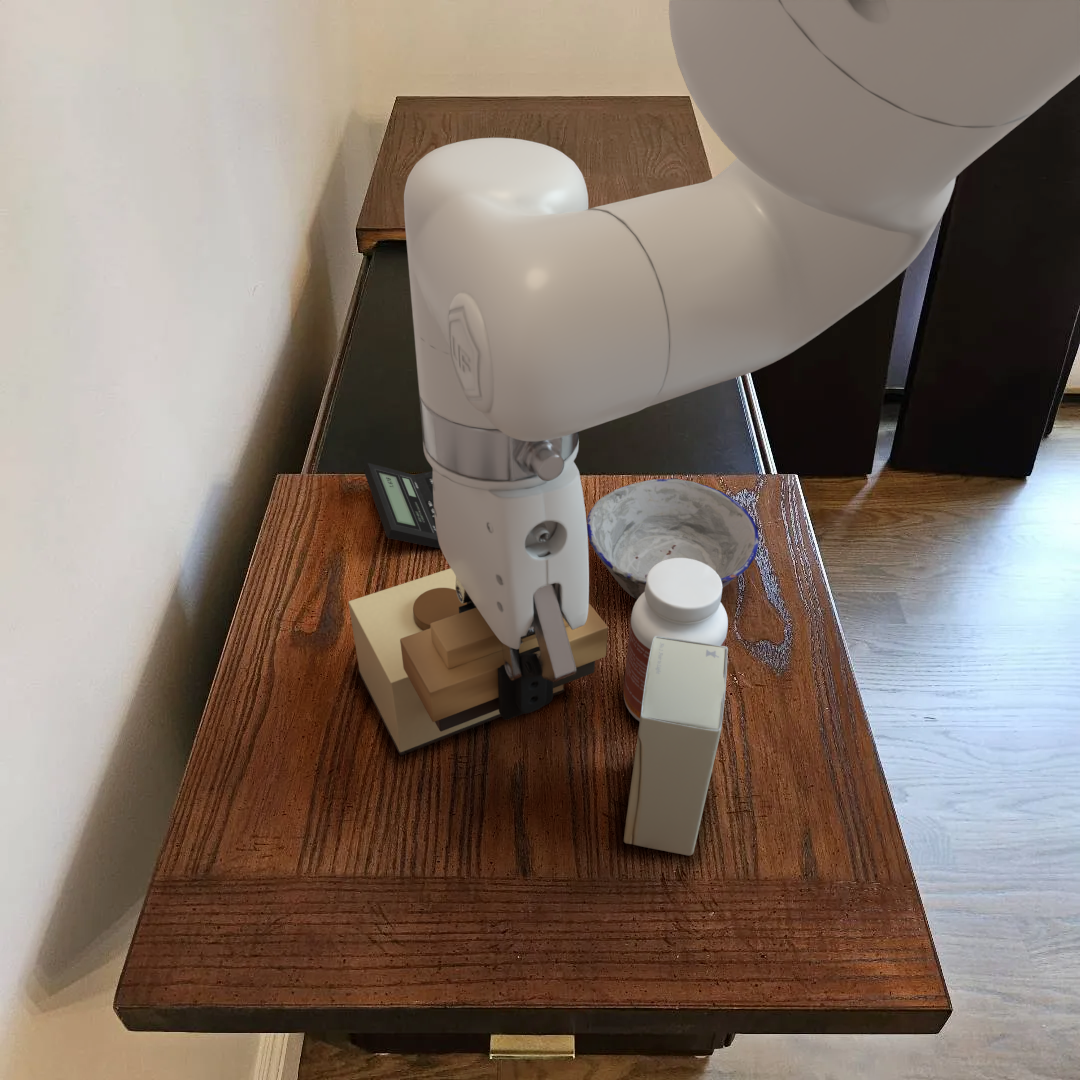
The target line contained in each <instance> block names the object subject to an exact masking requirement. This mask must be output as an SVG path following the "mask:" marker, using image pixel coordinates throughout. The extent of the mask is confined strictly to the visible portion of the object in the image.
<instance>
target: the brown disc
mask: <svg viewBox="0 0 1080 1080" xmlns="http://www.w3.org/2000/svg"><path fill="white" fill-rule="evenodd" d="M466 604H467V602H466V603H463V604H462V603H461V602H460V601H459V599H458V597H457V594H456V590H454V589H451V588H435V589H431V590H428V591H426V592H424V593H423V594H421V595H420V596H419V597H418V598H417V599H416V600H415V602H414V605H413V614H414V621H415V623H416V625H417V626H418V627H419V628H420V629H421V630H423V631H424V630H427V629H430V628H431V626H430V624H431V623H433V622H436V621H439V620H442V619H445V618H447V617H450V616H453V615H456V614H459V607H460V606H463V605H466Z"/></svg>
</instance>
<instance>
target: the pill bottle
mask: <svg viewBox="0 0 1080 1080" xmlns="http://www.w3.org/2000/svg"><path fill="white" fill-rule="evenodd" d="M722 594H723V588H722V582H721V579H720V577H719V575H718V574H717V573H716V572H715V571H714V570H713V569H712V568H711V567H709V566H708V565H706V564H704V563H702V562H699V561H697V560H693V559H688V558H672V559H667V560H664V561H661V562H659V563H658V564H656V565H655V566H654V567H653V568H652V569H651V570H650V571H649V573H648V576H647V580H646V586H645V592H644V593H643V594H641V596H640V597H639V598H638V599H637V600H636V601H635V602H634V605H633V607H632V610H631V616H630V622H629V623H630V624H629V633H628V641H627V642H628V643H627V653H626V663H625V673H624V682H623V700H624V703H625V706H626V708H627V710H628V712H629V713H630V715H631V716H632V717H633V718H634V719H635V720H636V721H637V722H639V723H640V715H641V707H642V699H643V692H644V685H645V678H646V672H647V666H648V660H649V655H650V650H651V645H652V641H653V638H654V637H655V636H660V637H667V638H674V639H682V640H687V641H694V642H701V643H706V644H713V645H718V646H726V641H727V637H728V636H727V635H728V628H729V618H728V614H727V611H726V609H725V607H724V605H723V603H722V602H721V601H722V596H723V595H722Z"/></svg>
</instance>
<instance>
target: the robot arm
mask: <svg viewBox="0 0 1080 1080" xmlns="http://www.w3.org/2000/svg"><path fill="white" fill-rule="evenodd" d="M668 19H669V30H670V37H671V42H672V47H673V50H674V54H675V58H676V62H677V65H678V69H679V71H680V73H681V76H682V78H683V81H684V83H685V86H686V88H687V90H688V92H689V94H690V96H691V98H692V99H693V101H694V103H695V105H696V107H697V109H698V110H699V111H700V113H701V114H702V116H703V118H704V119H705V121H706V122H707V124H708V125H709V127H710V128H711V130H712V131H713V132H714V133H715V134H716V136H717V137H718V138H719V140H720V141H721V142H722V144H723V145H724V146H725V147H726V148H727V149H728V150H729V151H730V152H731V154H733V156H735V157H736V158H735V159H734V160H733V161H732V162H731V163H730V164H729V165H728V166H726V168H725V169H723V170H722V171H721V172H719V173H718V174H717V175H715V176H714V177H712V178H710V179H708V180H706V181H704V182H703V181H702V182H699V183H694V184H690V185H685V186H684V185H683V186H679V187H675V188H670V189H666V190H662V191H657V192H653V193H649V194H644V195H641V196H636V197H632V198H629V199H624V200H619V201H615V202H612V203H611V202H610V203H607V204H602V205H599V206H594V207H591V208H589V194H588V188H587V185H586V180H585V177H584V175H583V173H582V171H581V170H580V169H579V167H578V165H577V164H576V163H575V161H574V160H572V159H571V157H569V156H567V155H566V154H565V153H563V152H562V151H561V150H558V149H557V148H554V147H553V146H549V145H547V144H543V143H541V142H540V143H539V142H536V141H532V140H526V139H521V138H513V137H512V138H511V137H481V138H480V137H479V138H472V139H467V140H466V139H465V140H461V141H457V142H453V143H449V144H445V145H443V146H440V147H437V148H435V149H433V150H431V151H430V152H428V153H426V154H425V155H424V156H423V157H421V158H420V159H418V161H417V162H416V163H415V164H414V166H413V168H412V169H411V170H410V172H409V174H408V176H407V179H406V182H405V187H404V192H403V206H404V207H403V215H404V227H405V229H404V230H405V239H406V251H407V265H408V276H409V287H410V301H411V310H412V313H411V314H412V325H413V335H414V348H415V359H416V371H417V373H416V374H417V383H418V384H417V385H418V398H419V410H420V422H421V435H422V447H423V453H424V457H425V460H426V461H427V462H428V464H429V465H430V467H431V468H432V471H433V501H434V515H435V524H436V531H437V537H438V542H439V545H440V548H441V549H440V548H439V549H440V550H441V552H442V554H443V556H444V558H445V560H446V562H447V565H448V566H449V567H450V568H451V569H452V570H453V572H454V573H455V575H456V584H455V589H456V594H457V597H458V599H459V601H460V602H461V603H462V604H463V603H466V602H467V604H466V605H463V606H460V607H459V613H462V612H465V611H468V610H471V609H474V608H477V609H478V610H479V612H480V613H481V615H482V616H483V618H484V619H485V621H486V622H487V624H488V625H489V626H490V628H491V629H492V631H493V632H494V634H495V635H496V636H497V638H498V639H499V640H500V641H501V646H502V653H503V660H504V665H502V666H500V667H499V668H498V694H499V713H500V714H501V716H502V717H501V718H502V720H505V721H508V720H511V719H514V718H516V717H519V716H521V715H524V714H530V713H533V712H536V711H538V710H540V709H541V708H543V707H544V706H547V705H550V703H551V702H552V701H553V700H554V696H553V682H556V681H559V680H561V679H564V678H566V677H569V676H572V675H574V674H576V671H577V670H576V665H575V661H574V658H573V654H572V650H571V647H570V643H569V639H568V636H567V632H566V628H565V625H564V621H563V618H564V619H565V621H566V622H567V623H568V625H569V626H570V627H571V629H572V630H574V629H576V628H578V627H581V626H583V625H585V623H586V620H587V616H588V606H589V604H590V600H589V599H590V565H589V564H590V562H589V561H590V560H589V537H588V533H587V512H586V506H585V497H584V491H583V485H582V480H581V475H580V471H579V468H578V466H577V465H576V463H575V460H576V458H577V455H578V453H579V447H580V445H579V443H580V441H579V440H580V432H582V431H584V430H588V429H591V428H593V427H596V426H599V425H602V424H605V423H608V422H611V421H615V420H618V419H621V418H623V417H626V416H630V415H633V414H635V413H636V414H637V413H638V412H640V411H642V410H644V409H646V408H649V407H652V406H655V405H658V404H661V403H664V402H667V401H669V400H673V399H677V398H678V397H682V396H685V395H687V394H690V393H691V394H692V393H693V392H697V391H699V390H702V389H705V388H708V387H711V386H714V385H718V384H721V383H724V382H727V381H732V380H733V379H736V378H740V377H742V376H746V375H748V374H751V373H754V372H756V371H758V370H761V369H764V368H765V367H768V366H770V365H772V364H774V363H776V362H777V361H780V360H782V359H783V358H785V357H787V356H789V355H791V354H792V353H794V352H795V351H797V350H798V349H800V348H802V347H803V346H805V345H806V344H808V343H809V342H810V341H812V340H813V339H815V338H816V337H817V336H819V335H821V334H822V333H823V332H825V331H826V330H827V329H829V328H830V327H831V326H833V325H834V324H836V323H837V322H839V321H840V320H841V319H843V318H844V317H846V316H847V315H848V314H849V313H851V312H852V311H854V310H855V309H856V308H859V306H861V305H863V304H864V303H865V302H867V301H868V300H869V299H871V298H872V297H873V296H875V295H876V294H878V292H880V291H882V289H884V288H885V287H886V286H888V285H889V284H890V283H891V282H892V281H893V280H895V279H896V278H897V277H898V276H899V275H900V274H902V273H903V272H904V271H905V270H906V269H908V267H910V266H911V264H912V263H913V262H914V261H915V260H916V259H917V258H918V256H919V255H920V254H921V252H922V251H923V250H924V249H925V247H926V245H927V243H928V242H929V240H930V238H931V237H932V234H933V233H934V231H935V230H936V228H937V226H938V224H939V222H940V220H941V219H942V217H943V215H944V214H945V212H946V209H947V207H948V205H949V203H950V200H951V197H952V195H953V191H954V188H955V184H956V180H957V177H958V176H959V175H960V174H961V173H962V172H963V171H964V170H965V169H966V168H967V167H969V166H970V165H971V164H973V162H974V161H976V160H977V159H978V158H979V157H981V156H982V155H983V154H984V153H985V152H988V150H989V149H991V148H992V147H993V146H994V145H995V144H997V143H998V142H999V141H1001V140H1002V139H1003V138H1004V137H1006V136H1007V135H1008V134H1009V133H1011V131H1013V130H1014V129H1015V128H1016V127H1018V126H1019V125H1020V124H1022V123H1023V122H1024V121H1025V120H1026V119H1028V118H1029V117H1030V116H1031V115H1033V114H1034V113H1035V112H1037V110H1039V109H1040V108H1042V106H1044V105H1045V104H1046V103H1047V102H1048V101H1049V100H1050V99H1052V97H1054V96H1055V95H1056V94H1058V93H1059V92H1060V91H1061V90H1063V89H1064V88H1066V86H1068V85H1069V84H1070V83H1071V82H1072V81H1074V80H1075V79H1076V78H1078V77H1079V76H1080V0H669V3H668ZM562 617H563V618H562ZM534 634H536V638H537V641H538V645H539V647H535V648H532V649H530V650H527V651H524V652H521V653H519V648H520V644H522V643H523V641H522V640H521V639H523V638H526V637H529V636H532V635H534Z"/></svg>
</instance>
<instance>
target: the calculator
mask: <svg viewBox="0 0 1080 1080" xmlns="http://www.w3.org/2000/svg"><path fill="white" fill-rule="evenodd" d="M363 472H364V476H365V478H366V481H367V484H368V487H369V490H370V492H371V496H372V498H373V502H374V505H375V508H376V511H377V513H378V515H379V519H380V522H381V524H382V527H383V530H384V533H385V536H386V538H387V539H390V540H395V541H401V542H406V543H411V544H416V545H420V546H426V547H430V548H435V549H440V550H441V548H440V545H439V542H438V537H437V531H436V524H435V515H434V501H433V470H431V471H426V472H420V473H416V474H415V473H414V474H412V473H408V472H404V471H401V470H397V469H393V468H390V467H386V466H382V465H378V464H375V463H371V462H367V463H366V465H365V467H364V470H363Z"/></svg>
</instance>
